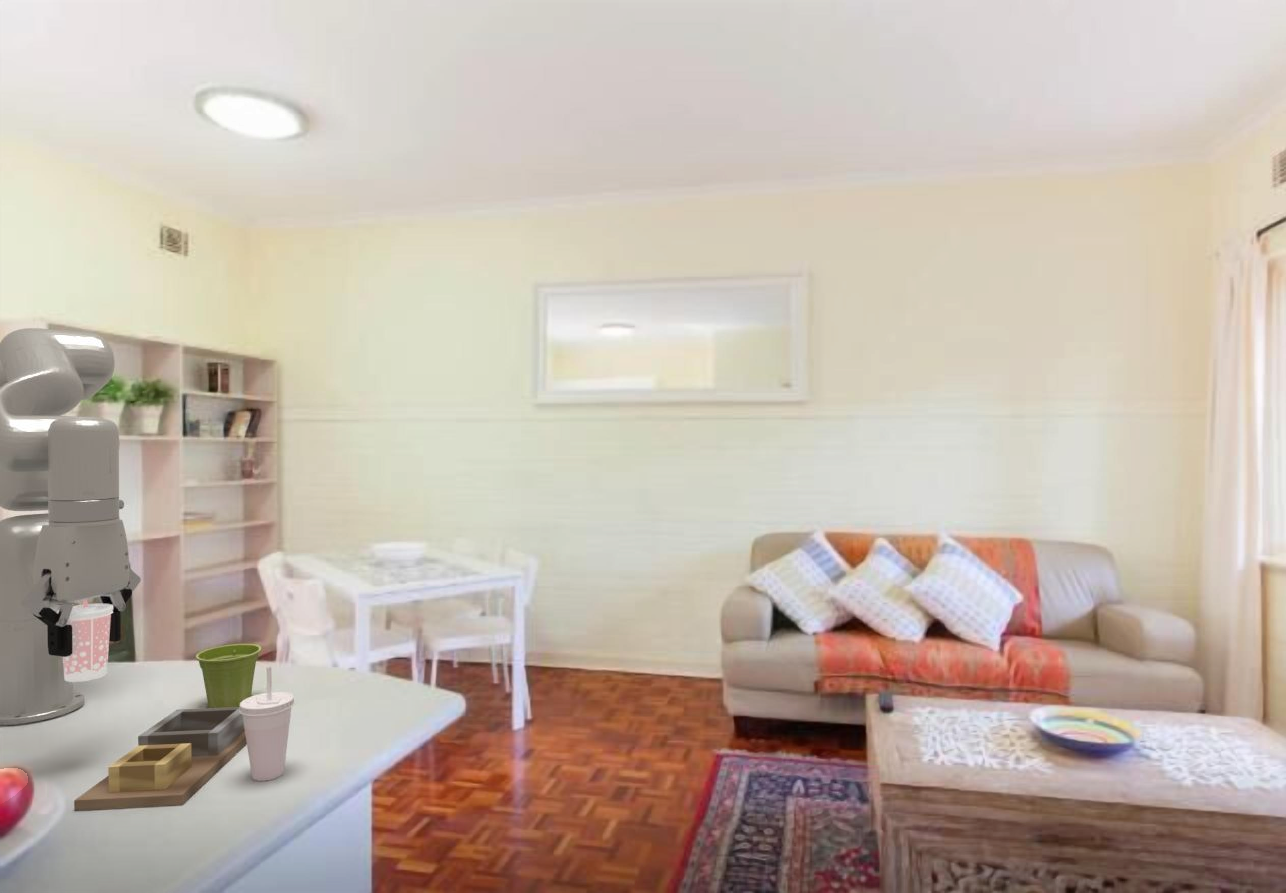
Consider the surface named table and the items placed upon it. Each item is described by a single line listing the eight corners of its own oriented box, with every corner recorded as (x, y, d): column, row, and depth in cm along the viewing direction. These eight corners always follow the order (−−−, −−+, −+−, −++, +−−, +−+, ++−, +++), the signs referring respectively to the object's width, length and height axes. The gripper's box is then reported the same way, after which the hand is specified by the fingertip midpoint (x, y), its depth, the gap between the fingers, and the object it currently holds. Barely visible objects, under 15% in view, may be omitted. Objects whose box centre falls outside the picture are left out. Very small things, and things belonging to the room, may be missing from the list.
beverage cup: (106, 665, 105) (106, 564, 105) (120, 675, 101) (119, 571, 101) (51, 676, 100) (50, 570, 100) (63, 687, 96) (62, 577, 96)
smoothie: (258, 790, 94) (257, 676, 93) (229, 778, 97) (227, 669, 97) (305, 770, 99) (304, 663, 99) (276, 760, 102) (275, 656, 102)
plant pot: (265, 706, 123) (265, 653, 123) (198, 718, 118) (198, 663, 118) (257, 690, 131) (256, 640, 131) (194, 701, 126) (193, 649, 126)
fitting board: (171, 737, 111) (171, 708, 111) (257, 733, 112) (257, 704, 112) (74, 810, 89) (73, 774, 89) (182, 804, 90) (182, 769, 90)
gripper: (121, 504, 109) (122, 628, 110) (-8, 518, 93) (-6, 665, 93) (164, 506, 107) (164, 632, 108) (39, 521, 91) (41, 671, 91)
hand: (85, 646), depth 101 cm, fingers closed on beverage cup, 6 cm apart
